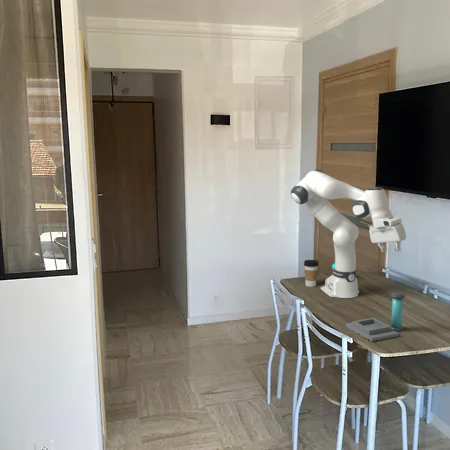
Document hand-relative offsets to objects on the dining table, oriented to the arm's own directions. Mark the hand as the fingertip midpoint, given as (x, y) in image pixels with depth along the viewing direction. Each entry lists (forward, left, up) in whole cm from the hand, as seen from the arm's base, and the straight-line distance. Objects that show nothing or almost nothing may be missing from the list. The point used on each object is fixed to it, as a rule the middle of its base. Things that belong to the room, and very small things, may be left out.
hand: (391, 251), depth 212 cm
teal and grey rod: (+8, -2, -34) cm, 35 cm away
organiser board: (+6, -14, -34) cm, 37 cm away
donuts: (-66, +20, -34) cm, 77 cm away
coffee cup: (-64, -2, -34) cm, 72 cm away
